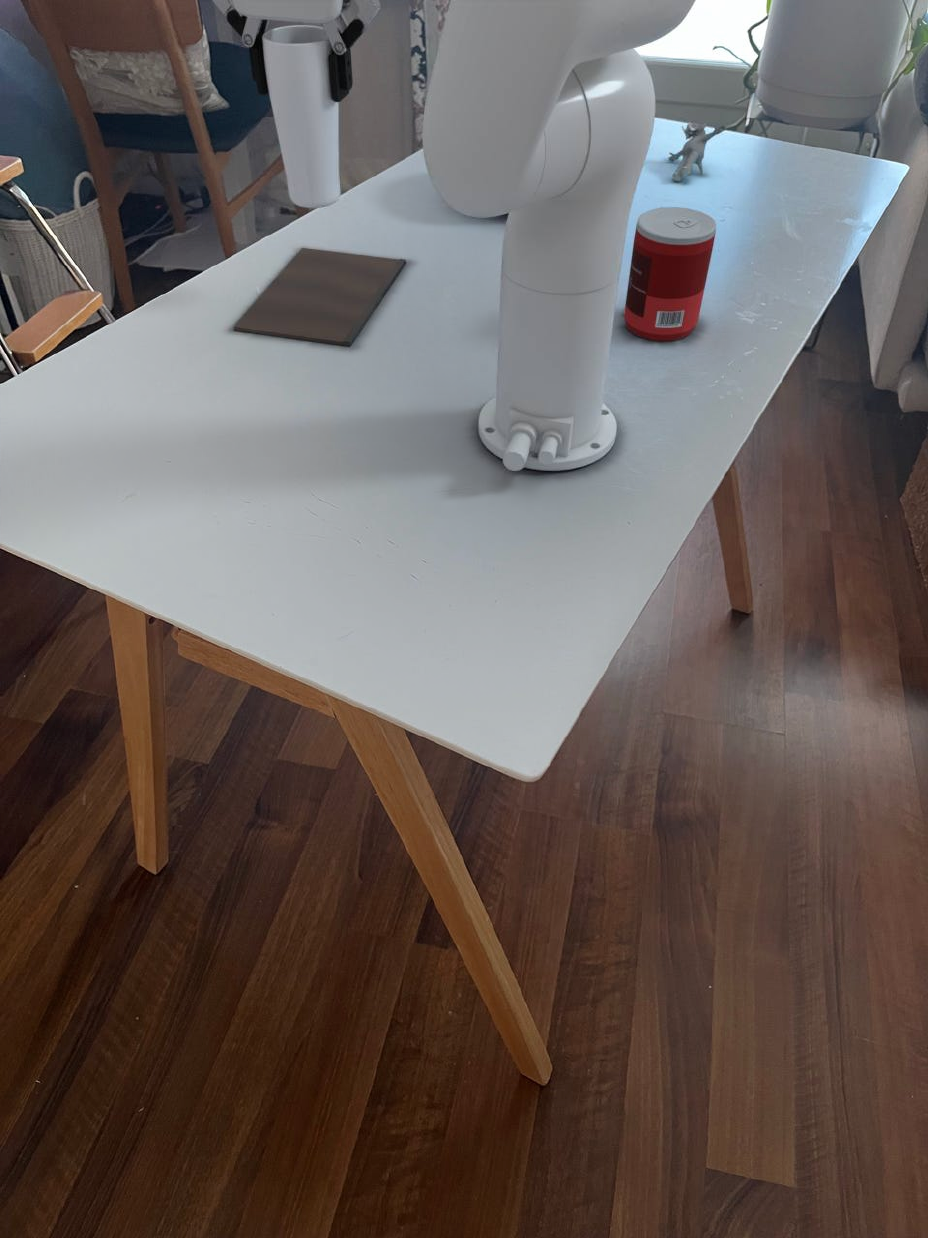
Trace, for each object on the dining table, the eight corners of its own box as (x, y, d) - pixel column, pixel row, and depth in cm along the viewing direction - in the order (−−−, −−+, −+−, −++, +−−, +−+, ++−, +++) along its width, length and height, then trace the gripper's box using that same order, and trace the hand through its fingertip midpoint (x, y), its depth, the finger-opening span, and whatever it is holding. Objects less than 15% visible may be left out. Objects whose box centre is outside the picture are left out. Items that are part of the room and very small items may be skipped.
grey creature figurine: (640, 176, 130) (662, 132, 133) (667, 207, 133) (687, 164, 136) (696, 141, 122) (718, 96, 125) (723, 176, 125) (743, 131, 128)
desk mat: (350, 346, 96) (350, 342, 96) (233, 330, 99) (232, 325, 98) (406, 263, 110) (406, 259, 110) (302, 250, 112) (302, 246, 112)
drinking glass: (336, 215, 94) (321, 46, 83) (273, 209, 95) (249, 41, 84) (355, 190, 99) (343, 26, 88) (294, 184, 100) (275, 22, 89)
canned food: (711, 324, 100) (732, 221, 92) (665, 350, 96) (684, 245, 88) (653, 300, 104) (670, 199, 96) (608, 324, 100) (621, 221, 92)
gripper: (162, -143, 76) (203, 98, 89) (365, -133, 73) (378, 114, 86) (202, -155, 81) (236, 75, 94) (393, -146, 78) (401, 90, 91)
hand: (303, 92), depth 90 cm, fingers closed on drinking glass, 6 cm apart
